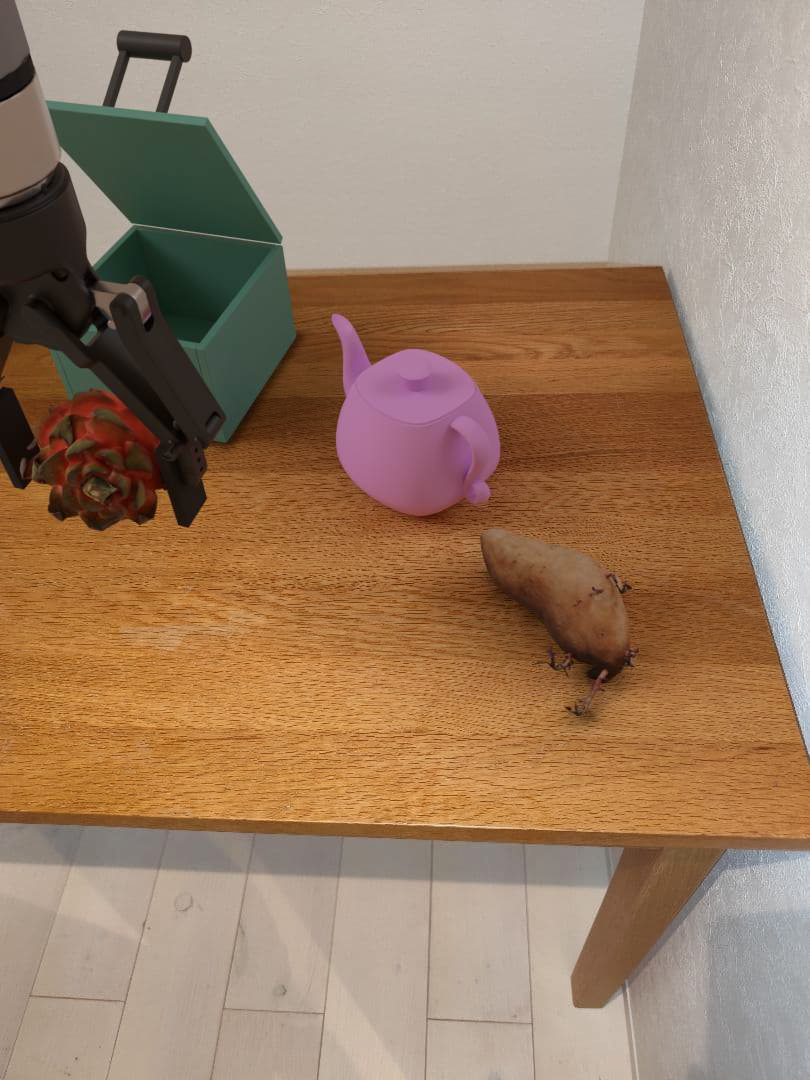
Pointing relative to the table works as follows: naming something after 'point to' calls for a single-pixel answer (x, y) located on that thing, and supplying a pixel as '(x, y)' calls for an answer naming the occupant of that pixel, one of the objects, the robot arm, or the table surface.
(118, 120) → the chest lid
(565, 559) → the vegetable
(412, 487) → the teapot
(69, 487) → the dragon fruit
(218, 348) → the storage chest
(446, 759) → the table surface
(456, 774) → the table surface
